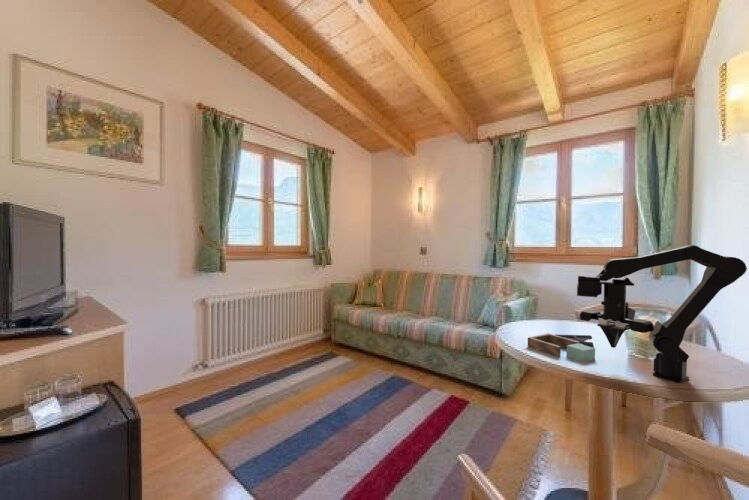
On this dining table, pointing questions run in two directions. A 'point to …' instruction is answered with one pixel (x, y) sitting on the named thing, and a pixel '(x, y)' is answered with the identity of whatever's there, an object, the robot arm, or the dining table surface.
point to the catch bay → (550, 343)
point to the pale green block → (580, 352)
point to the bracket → (581, 340)
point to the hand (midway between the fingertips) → (613, 347)
